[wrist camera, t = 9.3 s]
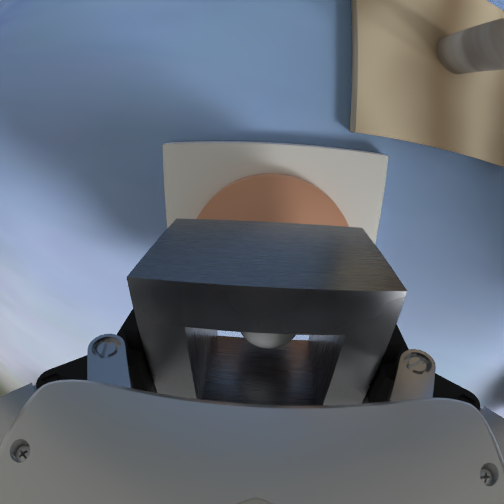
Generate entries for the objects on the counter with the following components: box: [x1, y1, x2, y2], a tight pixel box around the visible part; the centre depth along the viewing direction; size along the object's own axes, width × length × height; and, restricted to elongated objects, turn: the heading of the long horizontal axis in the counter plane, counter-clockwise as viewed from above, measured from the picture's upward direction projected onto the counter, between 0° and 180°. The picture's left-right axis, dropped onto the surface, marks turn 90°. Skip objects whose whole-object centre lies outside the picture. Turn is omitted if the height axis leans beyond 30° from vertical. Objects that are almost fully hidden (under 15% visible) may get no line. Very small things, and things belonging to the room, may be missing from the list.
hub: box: [163, 141, 388, 348], centre depth 14 cm, size 12×12×8 cm
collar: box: [127, 218, 407, 406], centre depth 10 cm, size 7×7×4 cm
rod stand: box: [350, 0, 504, 167], centre depth 9 cm, size 12×12×7 cm
